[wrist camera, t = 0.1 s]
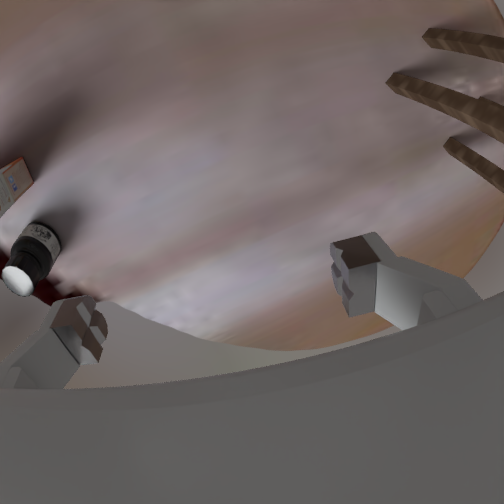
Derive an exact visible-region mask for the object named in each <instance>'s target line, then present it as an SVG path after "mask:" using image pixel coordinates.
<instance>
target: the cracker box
mask: <svg viewBox="0 0 504 504" xmlns="http://www.w3.org/2000/svg"><path fill="white" fill-rule="evenodd" d="M33 184H34V182H33V180H32V178H31V175H30V173H29V171H28V169H27V166H26V164H25V162H24V159H23V157H20V158H19V159H17V160H15V161H13V162H12V163H10V164H8V165H6V166H5V167H3V168H1V169H0V218H1V217H2V216H3V214H4V213H5V212H6V211H7V210H8V209H9V208H10V207H11V206H12V205H13V204H14V203H15V202H16V201H17V200H18V199H19V198H20V197H21V196H22V195H23V194H24V193H25V192H26V191H27V190H28V189H29V188H30V187H31V186H32V185H33Z"/></svg>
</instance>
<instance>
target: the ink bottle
mask: <svg viewBox="0 0 504 504" xmlns="http://www.w3.org/2000/svg"><path fill="white" fill-rule="evenodd" d="M60 251H61V242H60V239H59V237H58V235H57V234H56V232H55V231H54V230H53V229H52V228H50V227H49V226H47V225H45V224H43V223H40V222H33V223H31V224H29V225H28V226H27V227H26V228H25V229H24V230H23V231H22V233H21V234H20V235H19V237H18V239H17V240H16V241H15V243H14V244H13V246H12V248H11V258H10V259H9V261H8V262H7V264H6V265H5V267H4V269H3V270H2V278H3V282H4V283H5V284H6V286H7V288H9V289H10V290H11V291H12V292H13V293H15V294H17V295H19V296H23V297H26V296H30V295H31V294H32V293H33V292H34V290H35V288H36V286H37V284H38V282H39V280H42V279H44V278H45V277H46V276H47V275H48V274H49V272H50V271H51V269H52V267H53V265H54V263H55V261H56V259H57V257H58V256H59V254H60Z"/></svg>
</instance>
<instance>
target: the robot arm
mask: <svg viewBox="0 0 504 504" xmlns="http://www.w3.org/2000/svg"><path fill="white" fill-rule="evenodd" d="M330 255H331V257H332V259H333V261H334V263H333V264H332V266H331V270H332V278H333V282H334V286H335V289H336V291H337V293H338V294H339V295H341V296H342V304H343V306H344V308H345V310H346V312H347V314H348V316H349V317H353V316H357V315H361V314H365V313H369V312H373V311H375V313H377V314H378V315H380V316H381V317H383V318H384V319H386V320H387V321H389V322H391V323H392V324H394V325H395V326H397V327H398V328H400V329H401V330H402V331H399V332H397V333H393V334H390V335H387V336H384V337H380V338H377V339H374V340H370V341H367V342H364V343H360V344H357V345H354V346H350V347H346V348H343V349H339V350H335V351H331V352H328V353H323V354H319V355H316V356H311V357H307V358H303V359H298V360H294V361H289V362H285V363H280V364H275V365H271V366H266V367H261V368H255V369H250V370H245V371H239V372H233V373H228V374H222V375H215V376H209V377H202V378H195V379H188V380H180V381H173V382H164V383H154V384H145V385H133V386H121V387H107V388H85V389H63V388H64V387H65V385H66V384H67V383H68V381H69V380H70V379H71V377H72V376H73V375H74V373H75V372H76V371H77V370H78V368H79V367H80V365H85V364H94V363H99V360H100V357H101V353H102V350H103V348H102V346H101V344H102V343H103V342H104V341H105V340H106V337H107V334H108V329H107V323H106V320H105V318H104V316H103V315H102V313H100V312H99V311H97V310H96V303H95V301H94V300H93V298H92V297H91V296H89V295H85V296H80V297H74V298H69V299H63V300H59V301H56V302H54V303H53V305H52V306H51V309H50V310H49V312H48V314H47V316H46V318H45V319H44V321H43V323H42V325H41V327H40V329H39V330H38V331H35V332H34V333H33V334H32V335H30V336H29V337H28V338H27V339H26V340H25V341H24V342H23V343H22V344H21V345H19V346H18V347H17V348H16V349H15V350H14V351H13V352H12V353H11V354H9V355H8V356H7V357H6V358H5V359H4V360H3V361H2V362H1V363H0V504H504V291H503V292H501V293H499V294H497V295H494V296H492V297H490V298H487V299H485V300H482V299H481V297H480V296H479V295H478V294H477V293H476V292H475V290H474V289H473V288H472V287H471V286H470V285H469V284H468V283H467V282H466V280H464V279H462V278H460V277H457V276H454V275H452V274H449V273H446V272H444V271H441V270H438V269H436V268H433V267H430V266H427V265H425V264H422V263H419V262H416V261H414V260H411V259H408V258H405V257H402V256H401V257H397V256H396V255H395V254H394V252H393V251H392V250H391V249H390V248H389V246H388V245H387V244H386V243H385V242H384V241H383V240H382V238H381V237H380V236H379V235H378V234H377V233H376V232H371V233H367V234H364V235H360V236H356V237H352V238H349V239H345V240H341V241H337V242H333V243H330Z"/></svg>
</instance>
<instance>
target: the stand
mask: <svg viewBox="0 0 504 504" xmlns="http://www.w3.org/2000/svg"><path fill="white" fill-rule="evenodd" d="M422 38H423V39H424V40H425V41H426V42H427V44H428V45H429V46H430V47H431V48H437V49H443V50H449V51H454V52H459V53H464V54H469V55H474V56H478V57H482V58H487V59H490V60H494V61H498V62H502V63H504V38H502V37H497V36H491V35H485V34H479V33H472V32H464V31H455V30H445V29H432V28H429V29H428V30H427V31H426V33H425V34H424V35H423V36H422ZM386 84H387V85H388V86H389V87H390V88H391V89H392V90H393V91H394V92H395V93H397V94H399V95H402V96H405V97H407V98H410V99H412V100H415V101H417V102H420V103H422V104H425V105H427V106H429V107H432V108H434V109H436V110H439V111H441V112H443V113H445V114H447V115H450V116H452V117H454V118H456V119H458V120H460V121H462V122H464V123H466V124H468V125H470V126H472V127H474V128H476V129H478V130H480V131H482V132H484V133H485V134H487V135H489V136H491V137H493V138H495V139H496V140H498V141H500V142H502V143H503V144H504V106H502V105H500V104H497V103H495V102H493V101H490V100H488V99H485V98H483V97H480V98H479V99H475V98H473V97H470V96H468V95H465V94H462V93H460V92H457V91H454V90H451V89H448V88H445V87H442V86H439V85H436V84H433V83H430V82H426V81H423V80H420V79H416V78H413V77H409V76H405V75H402V74H398V73H393V74H392V76H391V77H390V78H389V79H388V81H387V82H386ZM443 147H444V148H445V149H446V151H447V152H448V153H449V154H450V155H451V156H453V157H454V158H456V159H457V160H459V161H460V162H462V163H463V164H465V165H466V166H468V167H469V168H470V169H472V170H473V171H475V172H476V173H477V174H479V175H480V176H482V177H483V178H484V179H486V180H487V181H488V182H490V183H491V184H492V185H494V186H495V187H496V188H497V189H499V190H500V191H501V192H503V193H504V170H502V169H501V168H499V167H498V166H496V165H495V164H493V163H492V162H490V161H489V160H487V159H486V158H484V157H483V156H481V155H479V154H478V153H476V152H475V151H473V150H471V149H470V148H468V147H466V146H465V145H463V144H461V143H460V142H458V141H456V140H455V139H453V138H451V137H450V138H449V139H448V141H447V142H446V143H445V144H444V146H443Z"/></svg>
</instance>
